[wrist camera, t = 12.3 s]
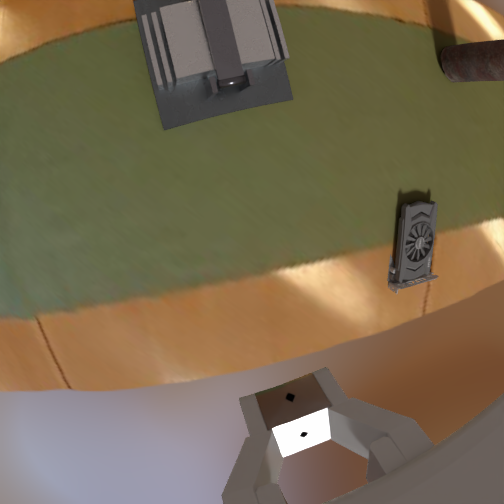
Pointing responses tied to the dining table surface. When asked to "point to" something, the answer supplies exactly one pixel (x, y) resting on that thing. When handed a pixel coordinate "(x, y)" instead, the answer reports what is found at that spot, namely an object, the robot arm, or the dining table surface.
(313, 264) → the dining table surface
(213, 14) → the retention strap
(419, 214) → the graphics card
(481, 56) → the candle
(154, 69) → the grey boxy piece
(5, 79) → the dining table surface
